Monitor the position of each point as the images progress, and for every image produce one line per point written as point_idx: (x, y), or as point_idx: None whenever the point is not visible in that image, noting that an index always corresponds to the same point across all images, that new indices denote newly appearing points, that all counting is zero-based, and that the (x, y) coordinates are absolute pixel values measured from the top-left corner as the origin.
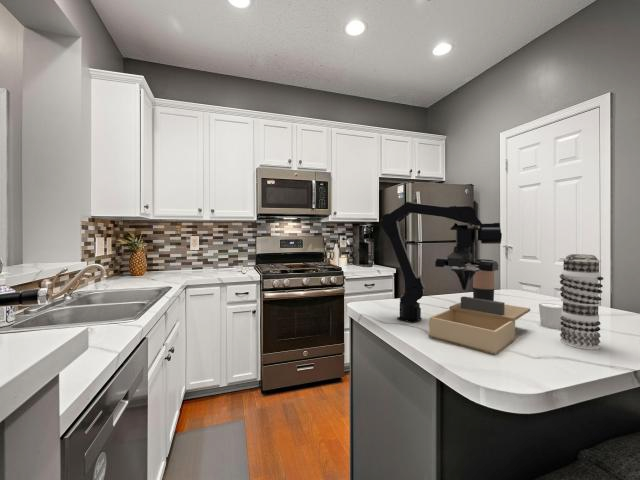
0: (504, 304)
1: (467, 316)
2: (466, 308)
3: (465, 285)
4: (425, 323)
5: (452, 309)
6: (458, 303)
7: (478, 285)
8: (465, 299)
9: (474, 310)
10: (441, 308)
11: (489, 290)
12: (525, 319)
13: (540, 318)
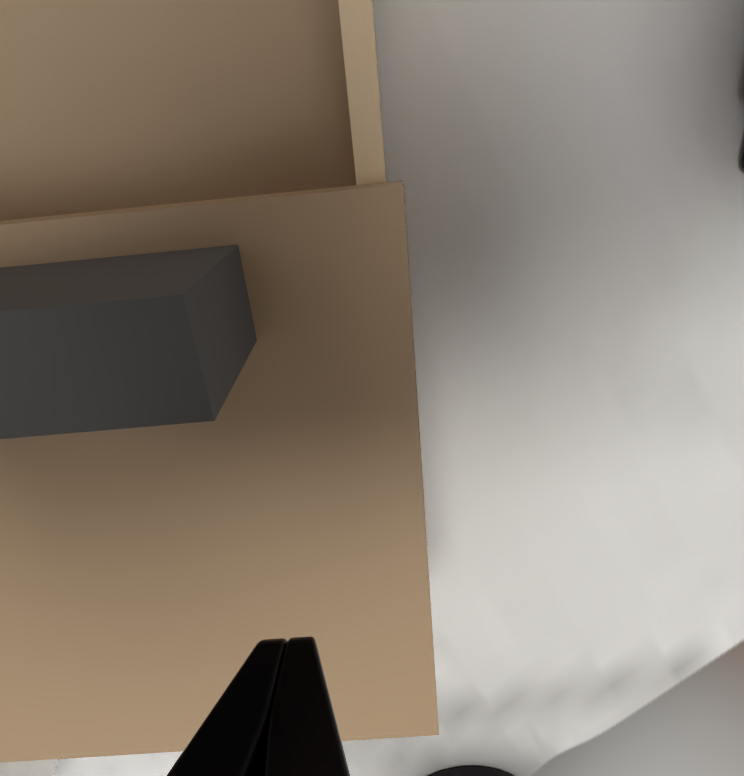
0: (92, 754)
1: None
2: (142, 255)
3: (216, 729)
4: (649, 65)
5: (352, 187)
6: (417, 475)
7: None
8: (93, 295)
9: (25, 265)
10: (714, 640)
11: None
12: (169, 764)
13: (23, 770)
